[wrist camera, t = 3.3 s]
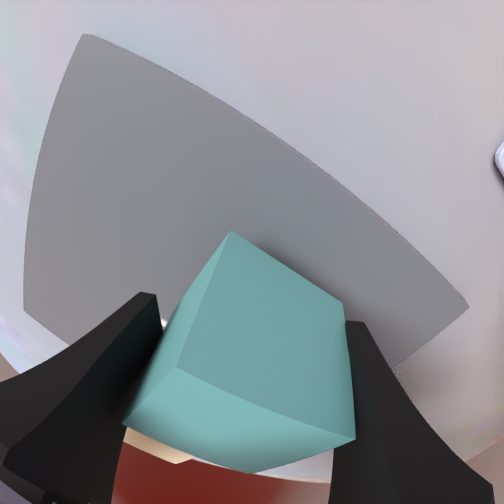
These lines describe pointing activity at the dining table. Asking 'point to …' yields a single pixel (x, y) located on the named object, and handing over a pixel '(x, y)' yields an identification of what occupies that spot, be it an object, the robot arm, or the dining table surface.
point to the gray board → (199, 209)
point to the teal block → (248, 367)
